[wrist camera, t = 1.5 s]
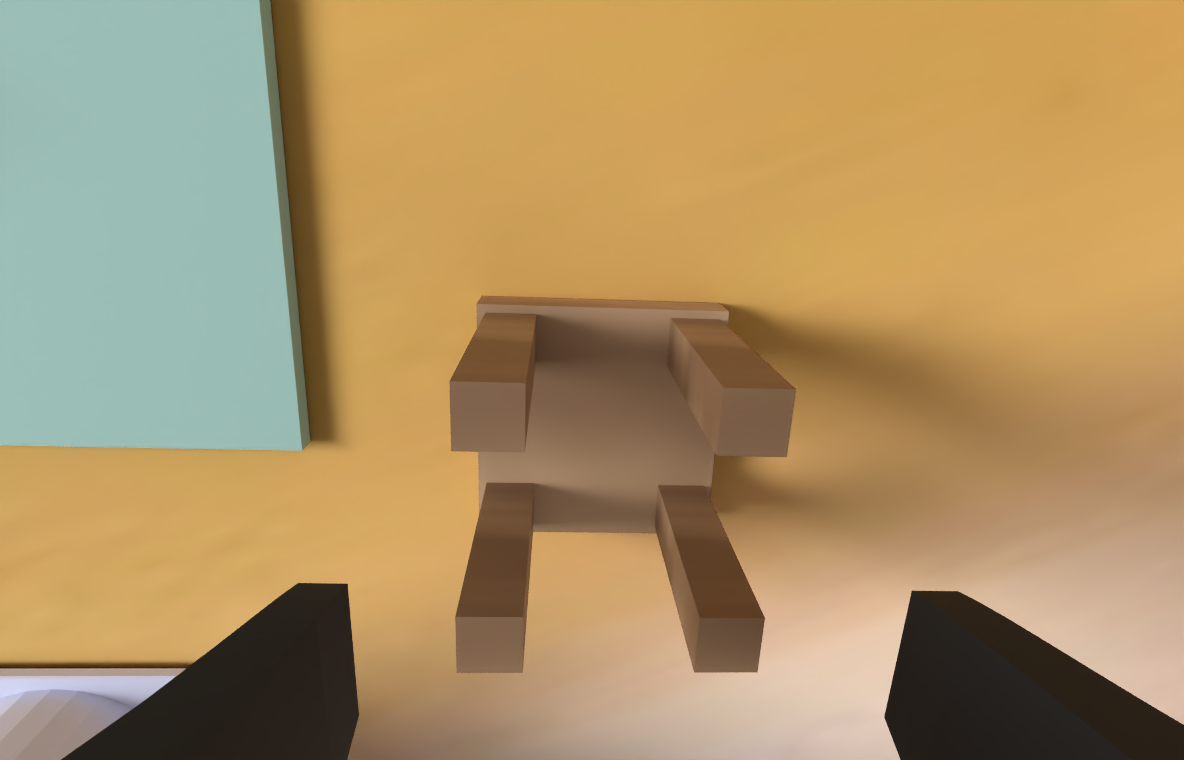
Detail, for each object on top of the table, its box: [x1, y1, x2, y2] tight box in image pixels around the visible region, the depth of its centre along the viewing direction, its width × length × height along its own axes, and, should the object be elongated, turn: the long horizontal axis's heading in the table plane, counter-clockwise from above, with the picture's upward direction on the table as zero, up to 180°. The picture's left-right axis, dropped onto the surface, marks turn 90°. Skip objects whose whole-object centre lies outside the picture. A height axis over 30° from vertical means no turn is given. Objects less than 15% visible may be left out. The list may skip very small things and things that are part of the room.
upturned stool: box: [450, 296, 796, 673], centre depth 15 cm, size 6×6×7 cm
